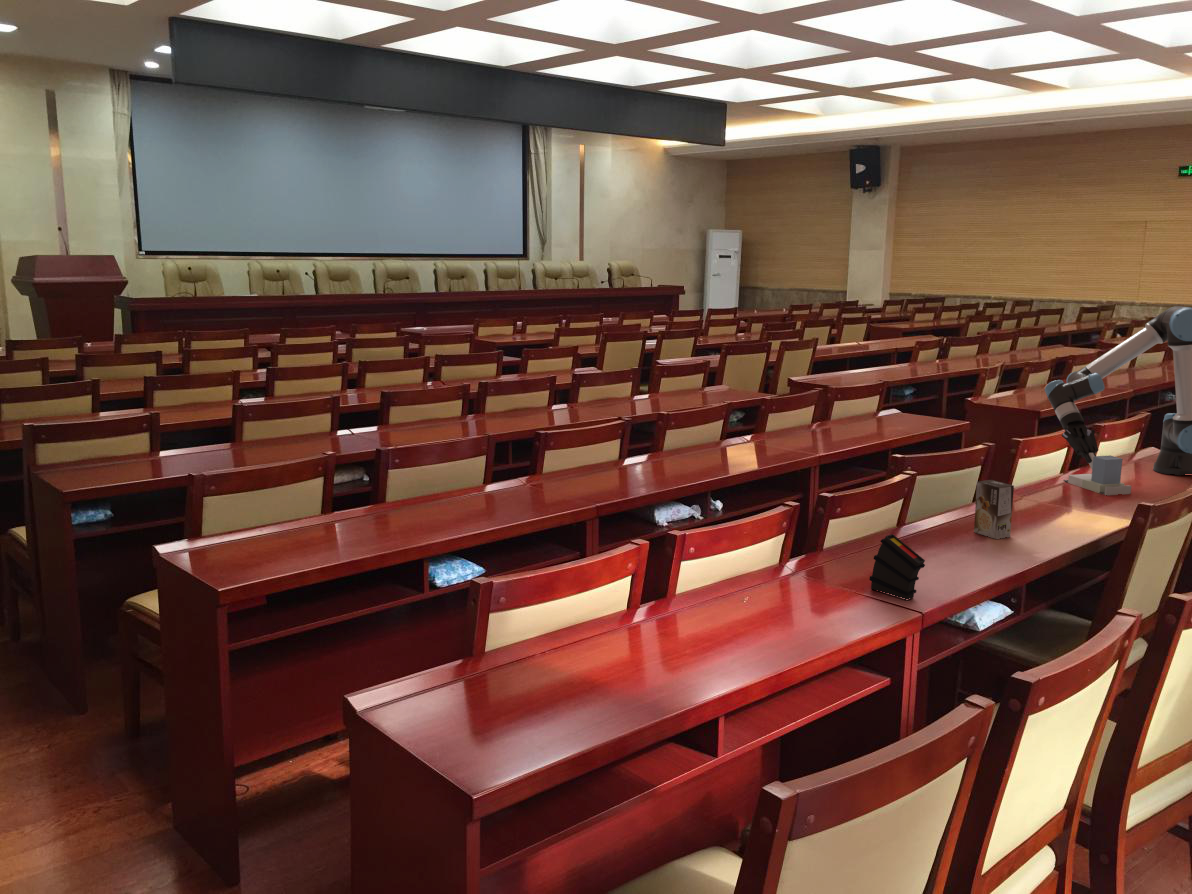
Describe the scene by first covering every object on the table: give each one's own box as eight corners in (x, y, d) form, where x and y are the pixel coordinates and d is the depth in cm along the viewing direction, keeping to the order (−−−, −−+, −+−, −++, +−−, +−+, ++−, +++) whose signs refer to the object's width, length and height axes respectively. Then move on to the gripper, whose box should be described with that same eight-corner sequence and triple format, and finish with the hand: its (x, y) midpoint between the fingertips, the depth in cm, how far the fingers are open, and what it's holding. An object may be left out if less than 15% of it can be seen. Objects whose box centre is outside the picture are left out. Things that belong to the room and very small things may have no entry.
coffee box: (1011, 537, 290) (1015, 485, 287) (995, 539, 287) (1000, 487, 284) (987, 529, 298) (991, 479, 295) (972, 532, 295) (976, 481, 292)
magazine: (868, 577, 249) (892, 532, 242) (906, 611, 241) (933, 565, 234) (859, 580, 247) (883, 535, 240) (898, 614, 239) (924, 569, 232)
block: (1108, 479, 349) (1110, 455, 347) (1120, 483, 343) (1122, 458, 341) (1091, 480, 347) (1093, 456, 346) (1102, 484, 342) (1105, 459, 340)
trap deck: (1086, 479, 362) (1087, 472, 361) (1130, 493, 340) (1131, 485, 340) (1063, 481, 360) (1064, 473, 359) (1106, 495, 338) (1106, 487, 338)
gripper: (1079, 422, 366) (1106, 474, 354) (1049, 423, 364) (1075, 476, 351) (1090, 410, 360) (1118, 463, 347) (1059, 411, 358) (1087, 465, 345)
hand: (1096, 469), depth 349 cm, fingers closed
